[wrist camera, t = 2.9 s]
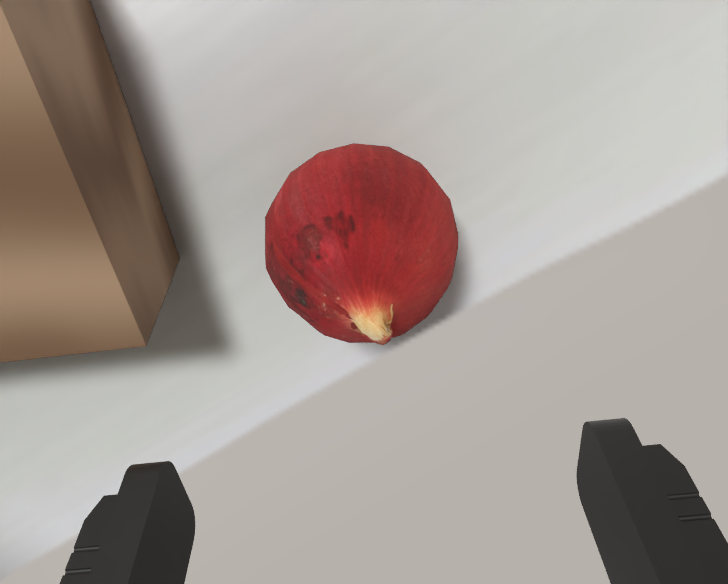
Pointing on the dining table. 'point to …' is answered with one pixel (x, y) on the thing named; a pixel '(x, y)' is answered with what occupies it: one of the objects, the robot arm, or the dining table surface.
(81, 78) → the walnut base
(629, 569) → the robot arm
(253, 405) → the dining table surface
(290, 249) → the onion
